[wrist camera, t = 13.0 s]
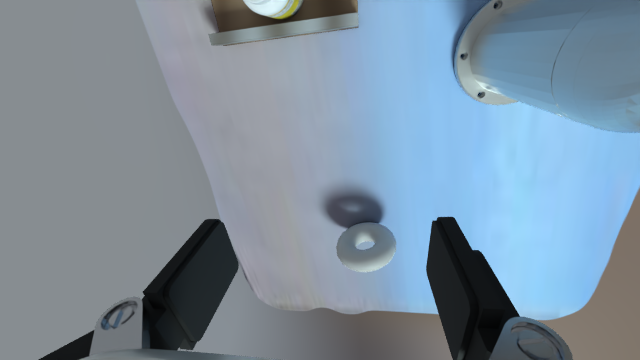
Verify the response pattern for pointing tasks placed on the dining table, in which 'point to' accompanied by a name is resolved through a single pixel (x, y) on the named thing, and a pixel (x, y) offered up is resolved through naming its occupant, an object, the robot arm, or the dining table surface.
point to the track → (280, 21)
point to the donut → (369, 257)
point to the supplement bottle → (275, 8)
